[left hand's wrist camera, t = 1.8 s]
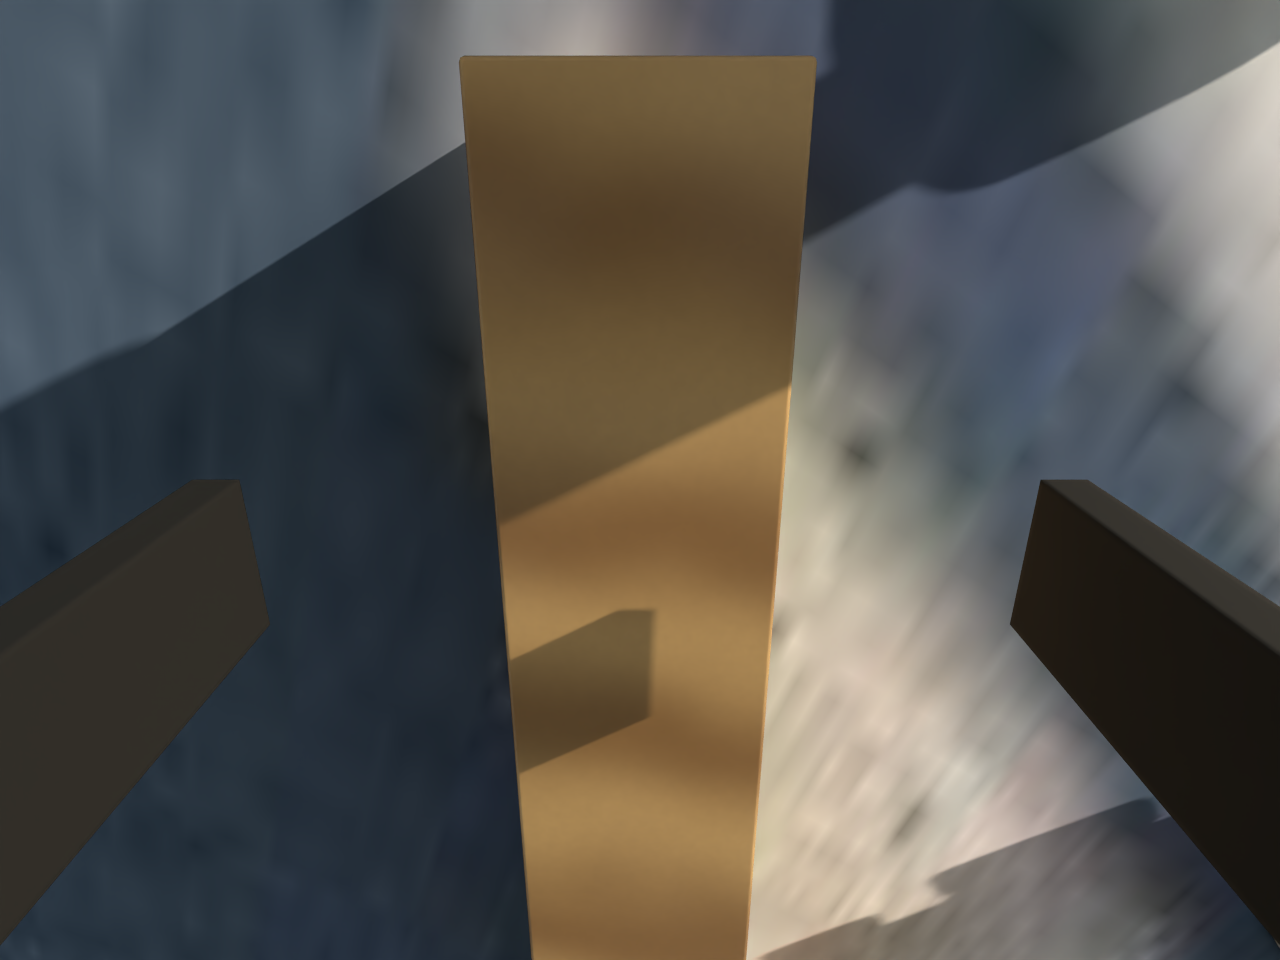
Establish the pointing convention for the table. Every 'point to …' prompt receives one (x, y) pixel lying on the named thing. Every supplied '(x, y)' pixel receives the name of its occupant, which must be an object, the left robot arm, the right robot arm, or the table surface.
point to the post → (638, 470)
